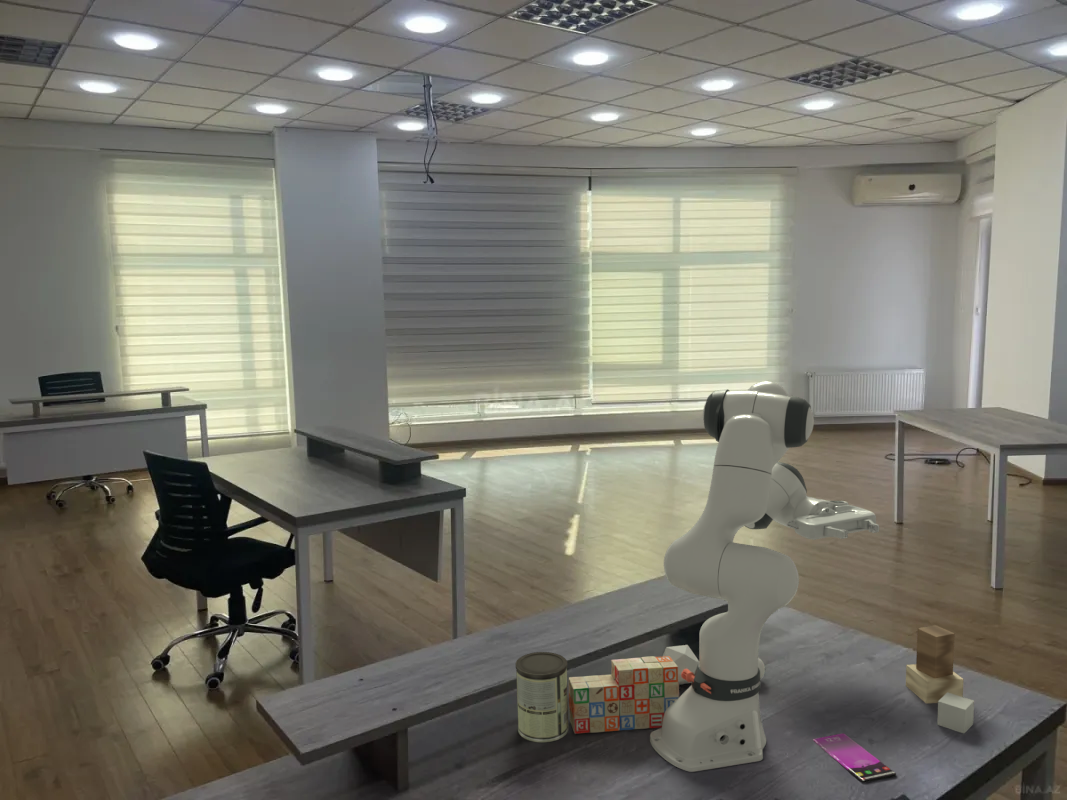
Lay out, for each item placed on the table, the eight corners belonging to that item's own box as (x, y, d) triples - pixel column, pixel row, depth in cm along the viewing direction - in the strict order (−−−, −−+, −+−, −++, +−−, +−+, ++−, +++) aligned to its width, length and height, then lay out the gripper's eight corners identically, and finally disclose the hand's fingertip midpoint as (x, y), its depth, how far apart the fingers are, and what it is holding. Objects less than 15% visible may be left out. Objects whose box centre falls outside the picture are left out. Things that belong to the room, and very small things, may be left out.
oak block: (926, 704, 171) (927, 681, 171) (905, 686, 179) (906, 664, 179) (962, 701, 172) (963, 679, 171) (940, 684, 180) (941, 662, 179)
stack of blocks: (574, 735, 161) (572, 673, 161) (569, 721, 167) (567, 662, 167) (680, 726, 164) (678, 665, 163) (671, 713, 170) (669, 654, 169)
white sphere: (768, 685, 181) (769, 661, 180) (743, 686, 180) (743, 662, 180) (757, 670, 188) (757, 646, 188) (733, 671, 188) (733, 647, 187)
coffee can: (514, 719, 169) (512, 653, 167) (563, 714, 170) (561, 649, 169) (521, 745, 159) (519, 676, 157) (573, 740, 160) (572, 671, 159)
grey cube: (964, 734, 159) (965, 709, 159) (937, 724, 163) (938, 701, 162) (973, 724, 163) (974, 700, 162) (946, 715, 166) (947, 692, 166)
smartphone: (862, 785, 144) (862, 780, 144) (812, 742, 158) (812, 737, 158) (897, 778, 146) (897, 773, 146) (844, 735, 160) (844, 731, 160)
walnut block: (934, 678, 172) (936, 637, 171) (916, 668, 177) (917, 628, 176) (952, 674, 174) (954, 633, 173) (934, 664, 178) (935, 624, 177)
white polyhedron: (694, 696, 178) (711, 654, 181) (659, 678, 178) (677, 636, 181) (681, 692, 186) (697, 652, 189) (648, 675, 186) (664, 635, 188)
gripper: (782, 510, 192) (826, 524, 180) (848, 499, 200) (894, 512, 188) (782, 536, 193) (825, 552, 180) (848, 524, 201) (893, 539, 189)
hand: (861, 532), depth 184 cm, fingers open, 8 cm apart
